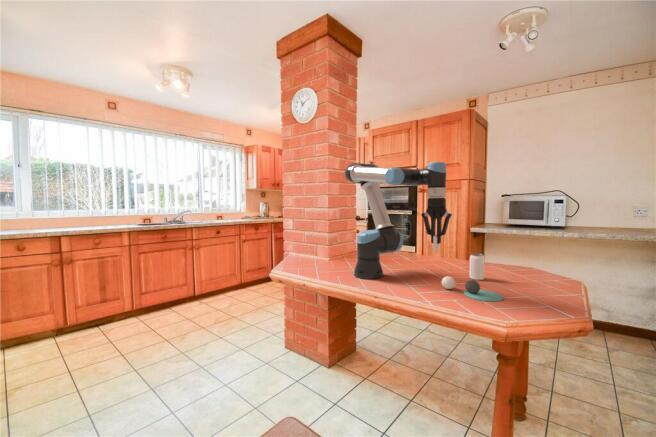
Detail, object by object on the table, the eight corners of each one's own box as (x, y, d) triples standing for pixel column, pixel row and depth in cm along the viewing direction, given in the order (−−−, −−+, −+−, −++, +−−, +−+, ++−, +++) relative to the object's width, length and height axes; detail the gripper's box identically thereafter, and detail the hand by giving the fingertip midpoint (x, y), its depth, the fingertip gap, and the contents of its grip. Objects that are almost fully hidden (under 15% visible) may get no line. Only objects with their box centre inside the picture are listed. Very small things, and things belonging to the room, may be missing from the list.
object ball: (464, 277, 115) (479, 277, 112) (467, 284, 118) (481, 285, 114) (463, 288, 112) (478, 289, 108) (466, 295, 114) (480, 297, 111)
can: (486, 280, 131) (486, 256, 130) (471, 280, 132) (472, 255, 131) (481, 277, 137) (482, 253, 136) (467, 276, 138) (468, 253, 138)
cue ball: (449, 271, 119) (460, 281, 117) (445, 277, 124) (455, 286, 121) (441, 278, 117) (452, 288, 115) (437, 284, 122) (447, 293, 119)
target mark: (457, 290, 117) (457, 289, 117) (489, 289, 118) (489, 288, 118) (476, 302, 103) (476, 301, 103) (512, 301, 104) (512, 300, 104)
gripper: (418, 197, 121) (418, 250, 123) (449, 197, 113) (448, 253, 115) (424, 198, 127) (424, 248, 129) (454, 197, 119) (453, 250, 120)
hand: (435, 250), depth 122 cm, fingers closed
